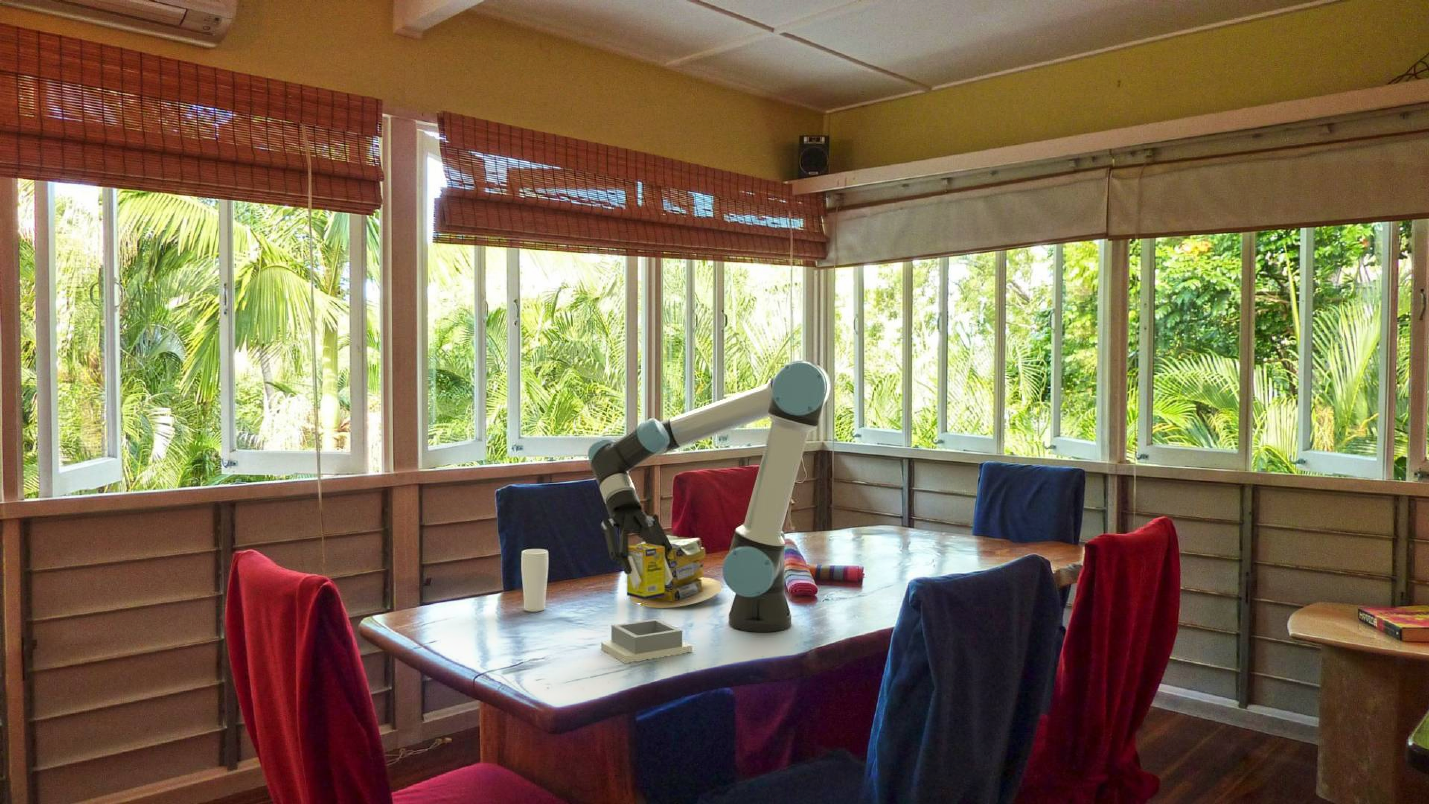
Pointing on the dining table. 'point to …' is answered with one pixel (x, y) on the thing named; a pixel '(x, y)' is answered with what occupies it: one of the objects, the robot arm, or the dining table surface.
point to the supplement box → (647, 570)
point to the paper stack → (684, 576)
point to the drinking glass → (534, 578)
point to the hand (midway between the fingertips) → (653, 583)
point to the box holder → (645, 641)
